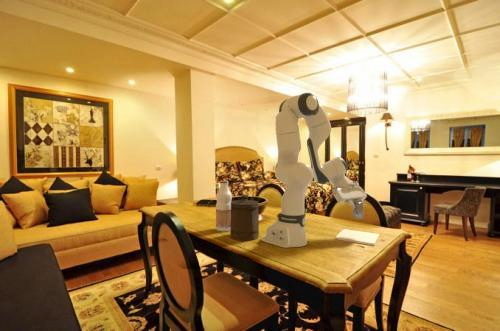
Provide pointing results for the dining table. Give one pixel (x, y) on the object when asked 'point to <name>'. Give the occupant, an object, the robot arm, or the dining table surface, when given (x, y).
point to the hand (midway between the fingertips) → (359, 207)
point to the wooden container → (244, 219)
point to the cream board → (358, 237)
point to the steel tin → (358, 210)
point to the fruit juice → (223, 207)
